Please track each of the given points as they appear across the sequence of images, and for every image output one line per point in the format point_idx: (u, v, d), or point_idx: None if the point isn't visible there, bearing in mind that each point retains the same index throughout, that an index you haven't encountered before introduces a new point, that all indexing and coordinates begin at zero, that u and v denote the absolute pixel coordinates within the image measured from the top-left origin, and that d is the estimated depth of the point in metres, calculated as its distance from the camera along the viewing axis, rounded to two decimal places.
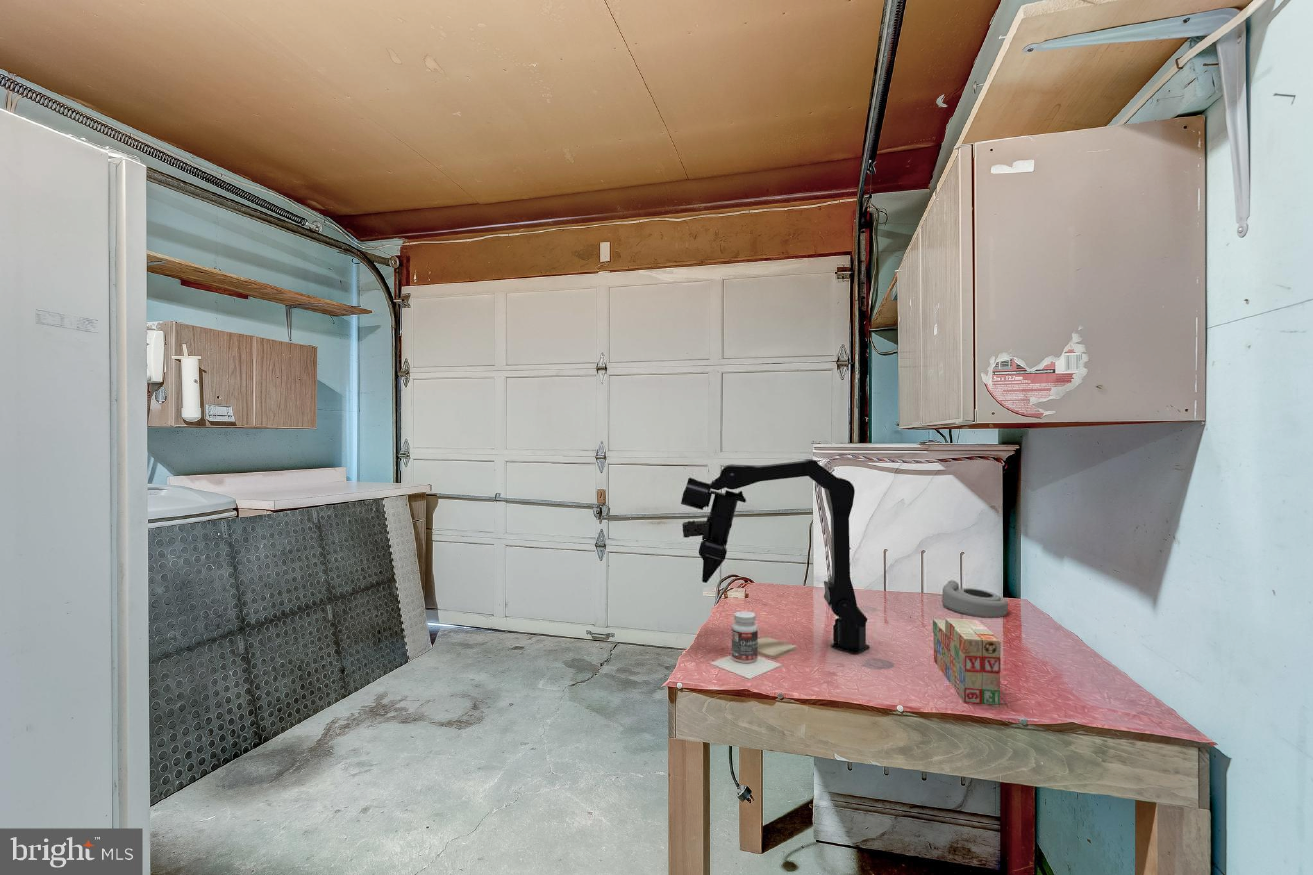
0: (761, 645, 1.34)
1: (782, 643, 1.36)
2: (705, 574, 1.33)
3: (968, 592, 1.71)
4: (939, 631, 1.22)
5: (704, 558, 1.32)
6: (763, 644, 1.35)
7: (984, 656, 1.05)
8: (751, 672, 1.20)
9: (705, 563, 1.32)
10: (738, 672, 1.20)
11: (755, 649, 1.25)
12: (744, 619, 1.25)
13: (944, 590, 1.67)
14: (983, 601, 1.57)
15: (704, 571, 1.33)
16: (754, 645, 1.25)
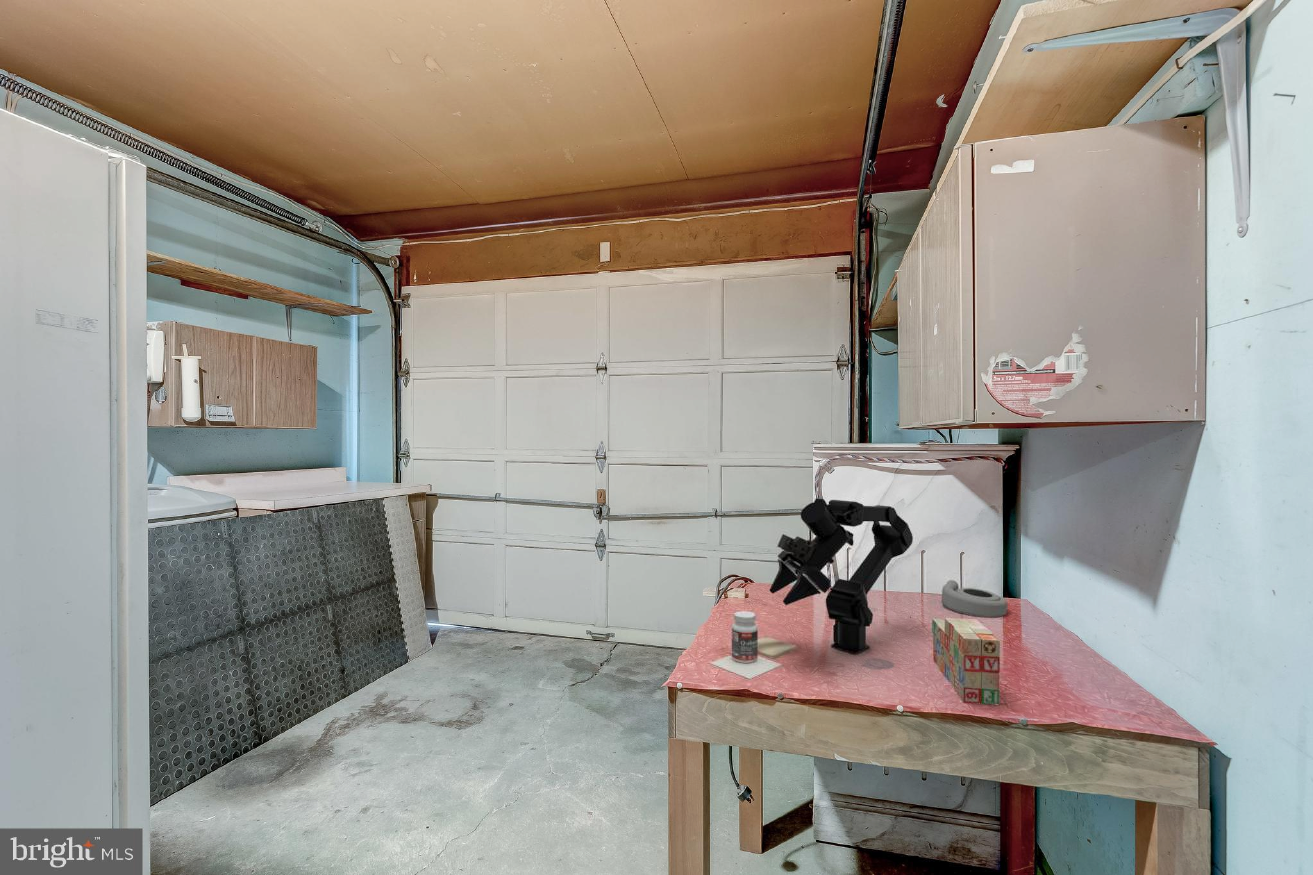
0: (761, 645, 1.34)
1: (782, 643, 1.36)
2: (791, 596, 1.23)
3: (968, 592, 1.71)
4: (938, 631, 1.22)
5: (801, 581, 1.22)
6: (763, 644, 1.35)
7: (983, 656, 1.06)
8: (751, 672, 1.20)
9: (798, 586, 1.23)
10: (738, 672, 1.20)
11: (755, 649, 1.25)
12: (744, 619, 1.25)
13: (944, 590, 1.67)
14: (983, 601, 1.58)
15: (792, 593, 1.23)
16: (754, 645, 1.25)
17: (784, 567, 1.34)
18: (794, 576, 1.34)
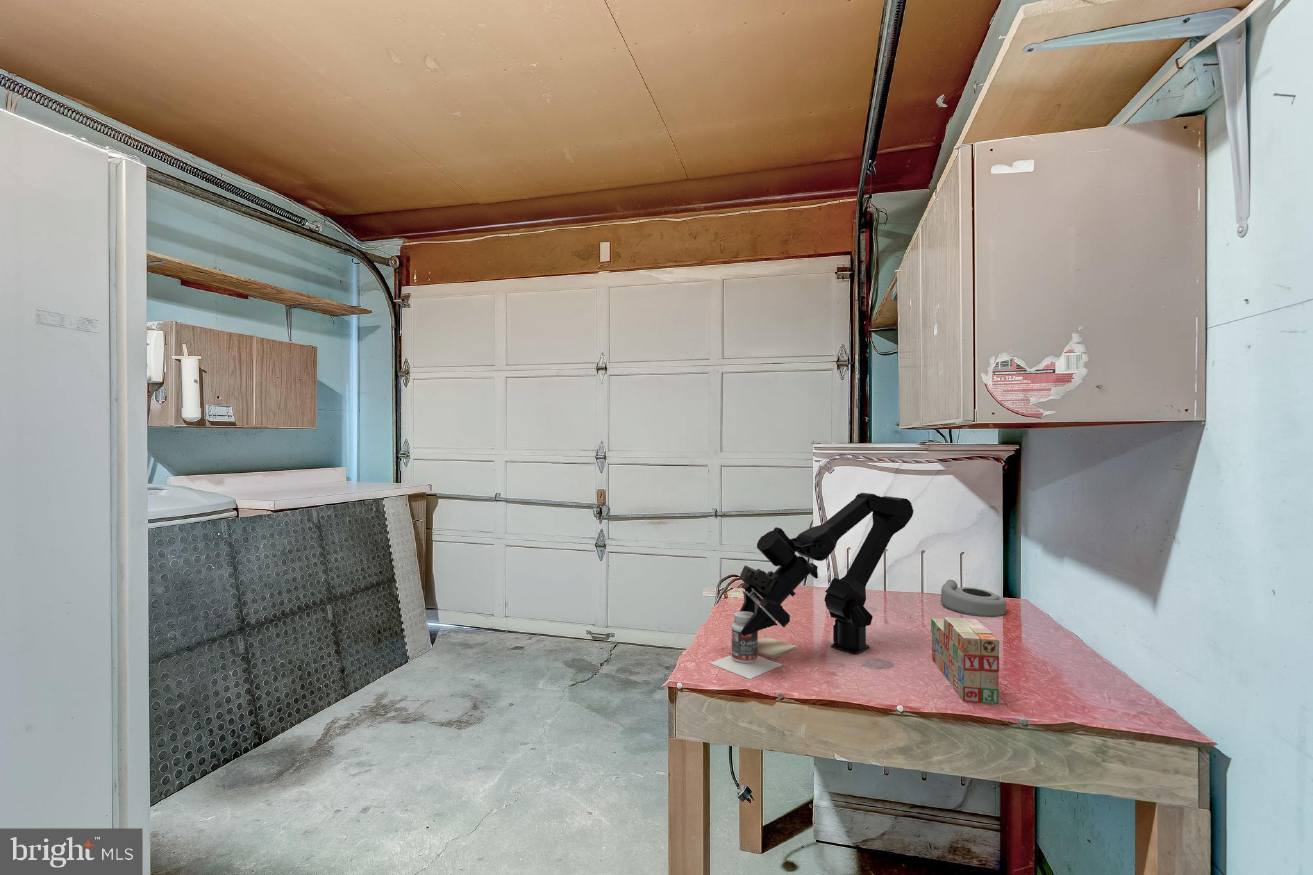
0: (761, 645, 1.34)
1: (782, 643, 1.36)
2: (748, 628, 1.24)
3: (967, 591, 1.72)
4: (937, 630, 1.22)
5: (758, 613, 1.23)
6: (763, 644, 1.35)
7: (982, 655, 1.06)
8: (751, 672, 1.20)
9: (756, 617, 1.23)
10: (738, 672, 1.20)
11: (755, 649, 1.25)
12: (744, 619, 1.25)
13: (943, 589, 1.68)
14: (982, 600, 1.58)
15: (750, 624, 1.23)
16: (754, 645, 1.25)
17: (749, 600, 1.31)
18: None
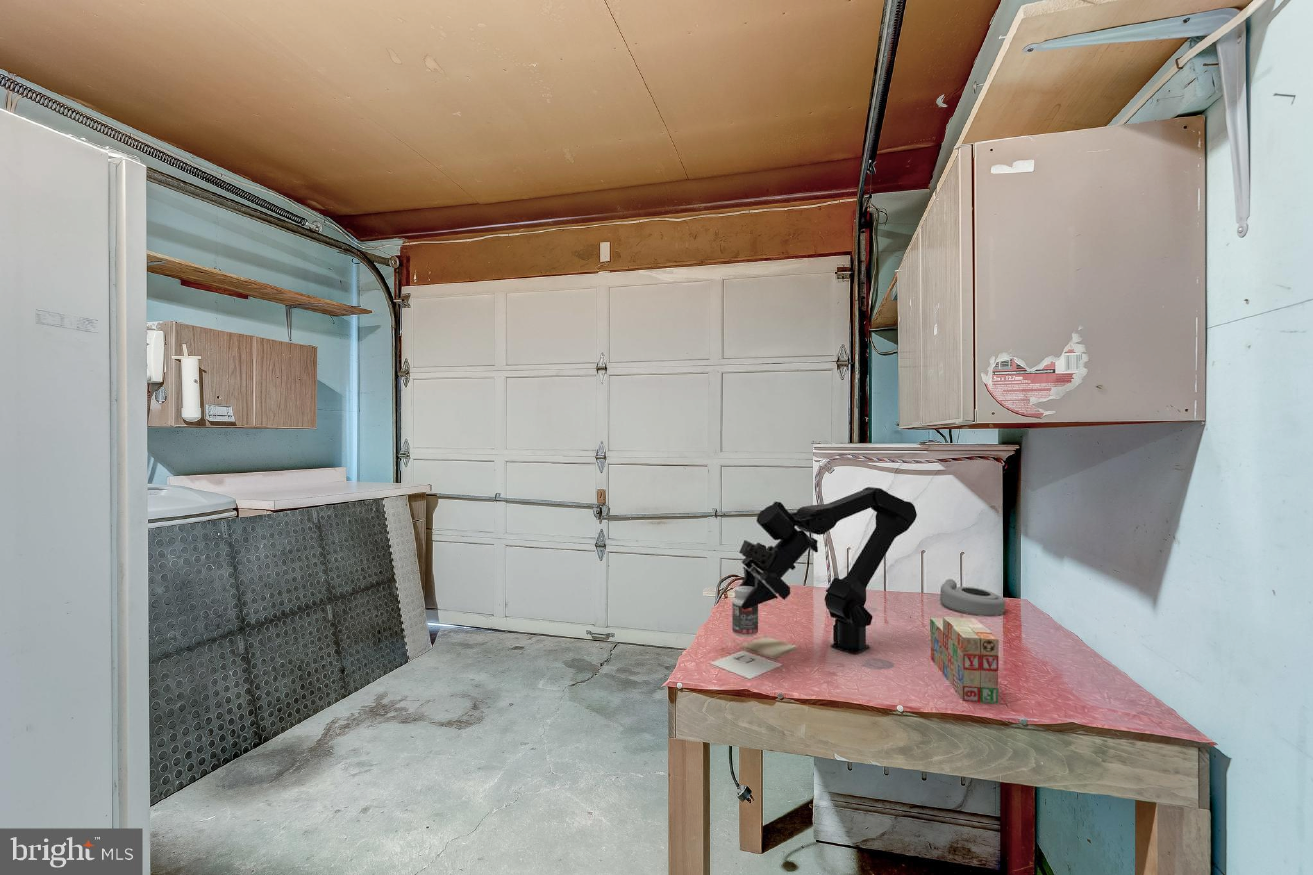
0: (761, 645, 1.34)
1: (782, 643, 1.36)
2: (749, 601, 1.24)
3: (966, 591, 1.72)
4: (936, 630, 1.23)
5: (759, 586, 1.23)
6: (763, 644, 1.35)
7: (982, 654, 1.06)
8: (751, 672, 1.20)
9: (756, 591, 1.23)
10: (738, 672, 1.20)
11: (756, 623, 1.26)
12: (745, 593, 1.25)
13: (942, 589, 1.68)
14: (981, 600, 1.59)
15: (750, 598, 1.23)
16: (754, 619, 1.25)
17: (749, 575, 1.31)
18: None
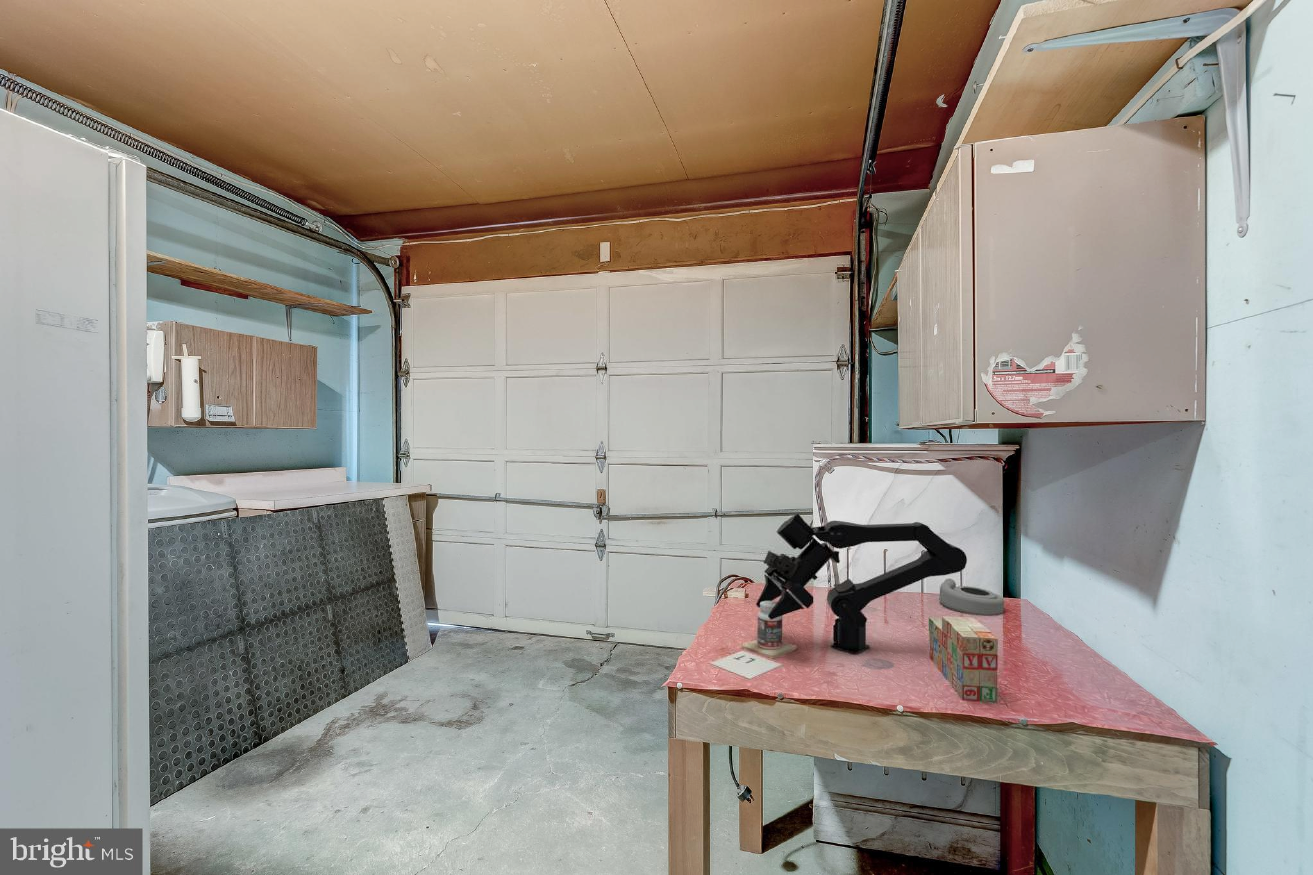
0: None
1: (782, 643, 1.36)
2: (776, 611, 1.29)
3: (965, 590, 1.73)
4: (935, 629, 1.23)
5: (785, 597, 1.28)
6: None
7: (981, 654, 1.07)
8: (751, 672, 1.20)
9: (783, 601, 1.28)
10: (738, 672, 1.20)
11: (780, 636, 1.32)
12: (770, 608, 1.32)
13: (941, 588, 1.69)
14: (980, 599, 1.59)
15: (777, 608, 1.29)
16: (779, 633, 1.32)
17: (770, 582, 1.39)
18: (780, 591, 1.40)
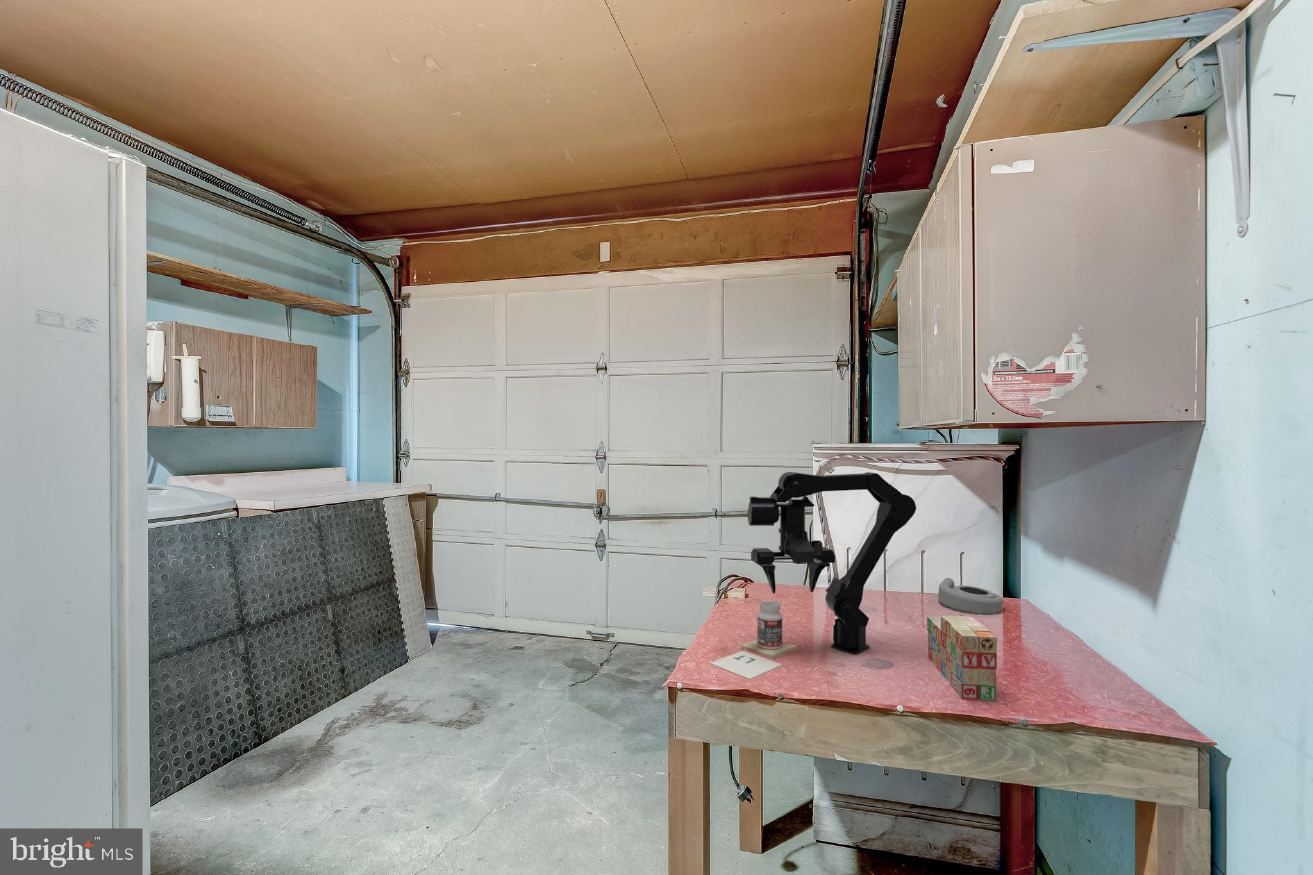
0: None
1: (782, 643, 1.36)
2: None
3: (963, 589, 1.74)
4: (934, 628, 1.24)
5: None
6: None
7: (980, 653, 1.07)
8: (751, 672, 1.20)
9: None
10: (738, 672, 1.20)
11: (780, 636, 1.32)
12: (770, 608, 1.32)
13: (940, 588, 1.70)
14: (979, 598, 1.60)
15: None
16: (779, 633, 1.32)
17: None
18: None
